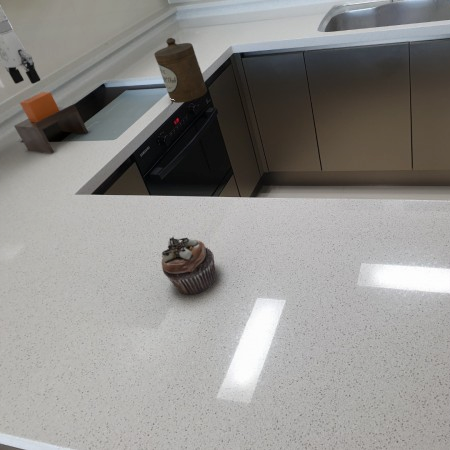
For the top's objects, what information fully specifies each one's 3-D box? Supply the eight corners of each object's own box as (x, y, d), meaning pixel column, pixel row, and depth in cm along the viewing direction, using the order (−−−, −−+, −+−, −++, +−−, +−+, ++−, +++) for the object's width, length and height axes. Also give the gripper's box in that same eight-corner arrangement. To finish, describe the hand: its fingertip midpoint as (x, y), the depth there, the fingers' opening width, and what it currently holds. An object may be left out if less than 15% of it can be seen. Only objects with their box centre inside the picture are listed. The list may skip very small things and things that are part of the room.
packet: (30, 121, 160) (19, 102, 155) (51, 110, 165) (41, 92, 161) (38, 122, 157) (28, 103, 153) (60, 111, 163) (50, 92, 159)
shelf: (28, 150, 165) (11, 121, 158) (64, 130, 176) (50, 102, 169) (51, 153, 158) (35, 123, 152) (88, 132, 169) (74, 103, 162)
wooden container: (167, 96, 186) (146, 41, 173) (201, 85, 190) (184, 30, 177) (175, 106, 174) (154, 47, 162) (211, 94, 178) (194, 35, 166)
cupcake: (219, 292, 85) (203, 251, 80) (168, 302, 86) (148, 262, 80) (221, 259, 93) (207, 220, 87) (175, 269, 93) (157, 230, 88)
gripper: (-27, 34, 146) (3, 86, 156) (3, 31, 138) (33, 86, 147) (-5, 27, 151) (23, 78, 161) (24, 23, 142) (52, 77, 152)
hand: (27, 82), depth 154 cm, fingers open, 9 cm apart
